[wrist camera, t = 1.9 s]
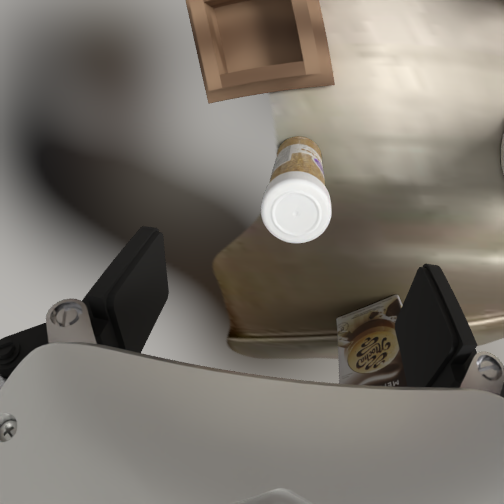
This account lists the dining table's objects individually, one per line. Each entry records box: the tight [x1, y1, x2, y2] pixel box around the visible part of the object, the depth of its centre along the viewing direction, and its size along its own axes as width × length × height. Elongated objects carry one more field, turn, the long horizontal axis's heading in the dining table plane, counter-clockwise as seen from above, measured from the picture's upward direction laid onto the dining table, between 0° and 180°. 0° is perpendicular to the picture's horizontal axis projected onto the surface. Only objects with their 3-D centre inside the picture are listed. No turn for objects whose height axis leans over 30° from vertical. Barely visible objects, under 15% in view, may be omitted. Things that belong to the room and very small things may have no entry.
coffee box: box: [336, 295, 407, 387], centre depth 35 cm, size 9×6×16 cm
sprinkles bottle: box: [261, 136, 332, 243], centre depth 26 cm, size 5×5×14 cm
